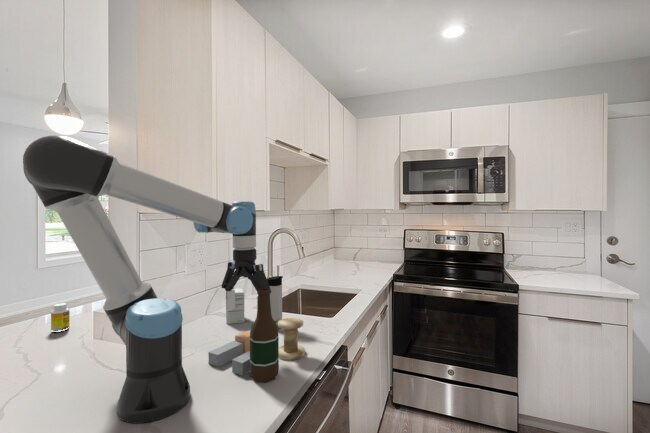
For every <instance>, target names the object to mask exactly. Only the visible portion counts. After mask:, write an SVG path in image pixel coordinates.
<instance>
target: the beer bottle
mask: <svg viewBox="0 0 650 433" xmlns="http://www.w3.org/2000/svg"><path fill="white" fill-rule="evenodd" d="M270 293H271V291H270V289H268V288H261V289H259V290H258V291H256V294H257V296H258V306H257V305H256V306H257V308H256V309H257V310H256V318H255V320H254V321H253V323H252V326H251V328H250V331H249V332H250V372H249V374H250V376H249V377H250V378H251V380H253V381H254V382H255V383H265V384H266V383H268V382H269V383H270V382H272V381H275V380H276V378H277V377H278V375H279V369H280V368H279V366H280V365H279V364H280V363H279V362H280V361H279V360H280V358H279V347H280V346H279V339H280V338H279V328H278V327H277V325H276V323H275V321H274V320H273V318H272V314H271V303H270Z"/></svg>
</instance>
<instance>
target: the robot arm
mask: <svg viewBox="0 0 650 433" xmlns="http://www.w3.org/2000/svg"><path fill="white" fill-rule="evenodd" d="M22 165H23V166H22V167H23V168H22V170H23V173H24V176H25V178H26V180H27V181H28V183H29V184H31V185H32V188H33V189H34V190H35V193H36V194H37V196H38V198H39V199H40V201H41V203H42V205H43V206H44V208H45V209H47V210H50V211H53V212H55V213H57V215H58V216H59V218H60V219H61V222H62V223H63V225H64V226H65V229H66V230H67V232H68V234H69V235H70V237H71V240H72V241H73V243H74V245H75V247H76V248H77V249H78V252H79V253H80V255H81V257H82V259H83V260H84V263H86V266H87V268H88V269H89V271H90V273H91V275H92V276H93V278H94V280H95V281H96V284H97V285H98V287H99V289H100V291H101V292H102V294H103V295H104V297H105V301H104V303H103V306H102V308H103V310H104V312H105V314H106V316H107V318H108V319H109V322H110V323H111V327H112V329H113V331H114V332H115V334H116V335H117V336H119V337H120V339H121V341H122V342H123V343H124V345H125V354H126V355H125V356H126V357H125V358H126V359H125V360H126V362H125V363H126V365H125V367H126V371H125V372H126V377H125V380H124V383H123V386H122V388H121V391H120V395H119V398H118V401H117V416H118V418H119V417H120V418H121V419H123V420H124V421H123V420H122V421H123V422H126V421H128V422H127V423H130V422H136V423H135V424H137V423H138V424H140V423H139V422H144V423H149V422H148V421H150V422H154V421H153V420H155V421H157V419H158V420H160V419H163V418H166V417H168V416H171V415H173V414H175V413H177V412H179V411H180V410H181V409H183V408H184V407H185V406H186V405H187V403H188V402H189V401H190V398H191V387H190V386H191V385H190V382H189V379H188V378H187V375H186V373H185V370H184V367H183V320H184V319H183V314H182V307H181V305H180V304H179V302H178V301H175V300H174V299H171V298H168V299H166V298H163V297H162V298H158V295H157V294H156V292H155V290H154V288H153V287H152V285H151V283H148V282H143V281H142V280H141V278H140V276H139V274H138V272H137V270H136V268H135V265H134V264H133V262H132V260H131V259H130V257H129V255H128V253H127V251H126V250H125V247H124V245H123V243H122V242H121V239H120V237H119V235H118V234H117V231H116V229H115V227H114V226H113V224H112V222H111V220H110V218H109V216H108V215H107V212H106V211H105V209H104V207H103V205H102V203H101V200H100V199H99V198H100V197H101V196H104V195H106V196H110V197H112V198H116V199H118V200H123V201H126V202H129V203H132V204H135V205H138V206H142V207H145V208H147V209H151V210H154V211H158V212H161V213H164V214H167V215H171V216H174V217H178V218H180V219H184V220H187V221H189V222H192V223H193V227H194V229H195V232H197V233H204V234H205V233H206V234H208V233H222V234H231V235H232V248H233V250H232V261H228V262H227V266H226V267H227V268H226V272H225V274H224V278H223V280H222V282H221V283H222V284H221V289H224V290H225V300H226V299H227V310H228V311H230V310H233V309H235V290H232V289H235V287H236V284H237V283H238V281H239V280H240V278H242V277H244V278H247V279H248V280H249V281H250V283H251V284H252V285H253V288H254V289H255V291H256V292H257V291H258V290H259V289H261V288H268V289H270V286H269V284H268V281H267V279H268V278H267V276H266V274H265V271H264V264H263V263H259V264H256V260H257V249H256V247H257V211H256V208H257V207H256V204H255V203H254V202H253V201H233V202H232V203H231V204H229V203H226V202H223V201H222V200H218V199H216V198H214V197H211V196H208V195H206V194H203V193H201V192H197V191H195V190H192V189H190V188H186V187H185V186H182V185H180V184H176V183H174V182H171V181H169V180H166V179H164V178H161V177H158V176H157V175H156V176H155V175H152V174H150V173H148V172H145V171H142V170H140V169H138V168H135V167H131V166H130V165H129V166H128V164H127V165H126V164H125V163H121V162H119V161H118V159H117V156H115V155H113V154H111V153H107V152H105V151H103V150H101V149H99V148H95V146H91V145H89V144H86V143H84V142H82V141H79V140H77V139H74V138H72V137H69V136H63V135H47V136H46V135H45V136H42V137H39V138H37V139H35V140H33V141H32V142H31V143H30V144H29V145H28V146H27V147H26V148H25V151H24V153H23V156H22ZM270 291H271V289H270ZM256 300H257V301H256V303H257V305H256V306H258V295H257V296H256ZM120 418H119V419H120ZM121 419H120V420H121Z"/></svg>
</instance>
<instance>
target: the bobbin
mask: <svg viewBox="0 0 650 433" xmlns="http://www.w3.org/2000/svg"><path fill="white" fill-rule="evenodd" d="M278 327H279V328H278V329H282V330H283V345H282V346H281V345H280V346H279V360H283V361H295V360H299V359H302V358H304V357H305V354H306V348H305V347H304V346H302V345H300V344H298V342H299V340H298V337H299V336H298V333H299V332H298V331H299V330H298V329H300V328H302V327H304V320H303V319H301V318H296V317H287V318H282V320H280V321H278Z"/></svg>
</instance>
